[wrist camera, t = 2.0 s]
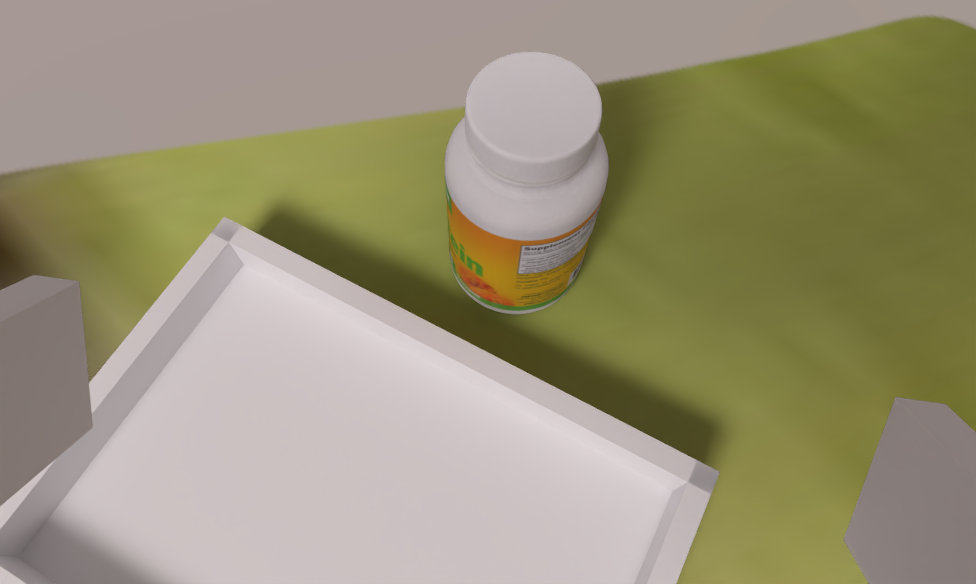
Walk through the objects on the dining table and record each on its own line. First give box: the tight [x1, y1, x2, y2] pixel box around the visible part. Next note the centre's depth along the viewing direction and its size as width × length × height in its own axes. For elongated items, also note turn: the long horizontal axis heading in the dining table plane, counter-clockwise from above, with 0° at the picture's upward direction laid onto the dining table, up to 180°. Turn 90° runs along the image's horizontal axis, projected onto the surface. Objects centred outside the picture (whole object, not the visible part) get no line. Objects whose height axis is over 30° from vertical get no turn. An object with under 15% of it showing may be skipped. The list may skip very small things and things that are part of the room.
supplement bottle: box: [445, 51, 609, 314], centre depth 24 cm, size 5×5×10 cm
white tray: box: [0, 217, 720, 584], centre depth 23 cm, size 20×14×2 cm
